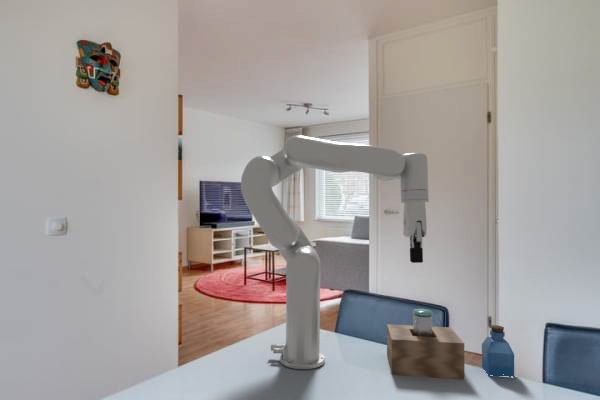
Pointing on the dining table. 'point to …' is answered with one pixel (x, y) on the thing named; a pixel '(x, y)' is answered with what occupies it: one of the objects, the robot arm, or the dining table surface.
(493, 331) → the perfume bottle
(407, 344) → the housing
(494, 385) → the dining table surface
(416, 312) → the plunger
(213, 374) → the dining table surface
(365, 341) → the dining table surface
